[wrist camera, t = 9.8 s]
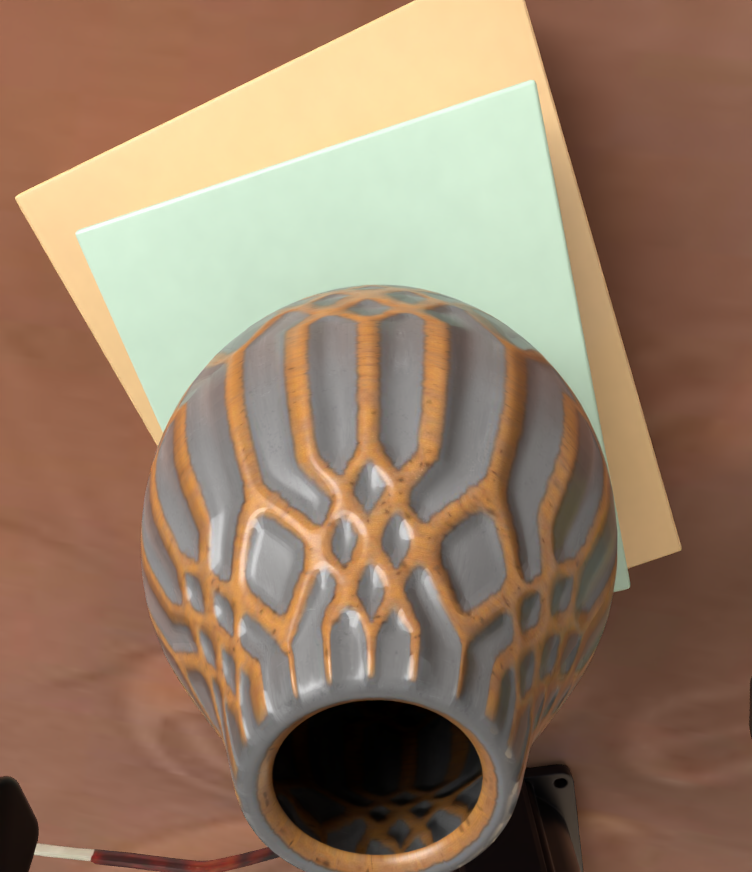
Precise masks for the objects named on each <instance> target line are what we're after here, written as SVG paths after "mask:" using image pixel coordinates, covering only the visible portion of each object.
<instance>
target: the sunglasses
mask: <svg viewBox="0 0 752 872" xmlns="http://www.w3.org/2000/svg"><path fill="white" fill-rule="evenodd" d="M34 855H38V856H46V857H55V858H65V859H74V860H84V861H91V862H93V863H95V864H99V865H109V866H118V867H128V868H136V869H145V870H153V871H161V872H223V871H228V870H232V869H236V868H240V867H244V866H248V865H252V864H256V863H259V862H263V861H267V860H270V859H274V858H278V857H279V856H278V855H277V854H276V853H274V852H273V851H272V850H271V849H270V848H269V847H267V848H263V849H259V850H255V851H251V852H248V853H244V854H239V855H235V856H230V857H225V858H221V859H216V860H210V861H193V860H184V859H175V858H167V857H159V856H151V855H144V854H136V853H127V852H117V851H107V850H96V849H84V848H73V847H65V846H57V845H48V844H39V843H37V846H36V849H35V852H34Z"/></svg>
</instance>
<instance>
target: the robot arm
mask: <svg viewBox="0 0 752 872" xmlns="http://www.w3.org/2000/svg"><path fill="white" fill-rule="evenodd" d="M749 727H750V734H751V737H752V677H751V681H750V715H749ZM559 778H560V779H559ZM38 834H39V828H38V822H37V819H36V817H35V815H34V813H33V811H32V809H31V807H30V805H29V803H28V801H27V799H26V797H25V795H24V793H23V791H22V789H21V787H20V785H19V783H18V782H17V780H15V779H14V778H12V777H9V776H3V777H0V872H28V871H29V868H30V865H31V862H32V859H33V855H34V852H35V849H36V846H37V841H38ZM451 872H583V863H582V854H581V845H580V835H579V826H578V817H577V808H576V798H575V789H574V781H573V778H572V775H571V772H570V769H569V768H568V767H566V766H564V765H550V766H543V767H535V768H528V769H525V773H524V778H523V782H522V787H521V790H520V794H519V797H518V800H517V803H516V806H515V809H514V811H513V813H512V816H511V817H510V819H509V821H508V823H507V825H506V826H505V828H504V829H503V831H502V832H501V833H500V835H499V836H498V837H497V838H496V840H495V841H494V842H493V843H492V844H491V845H490V846H489V847H488V848H487V849H486V850H484V851H483V852H482V853H481V854H480V855H478V856H477V857H476V858H474V859H473V860H471V861H470V862H468V863H467V864H465V865H463V866H461V867H460V868H458V869H456V870H454V871H451Z"/></svg>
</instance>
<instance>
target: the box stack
mask: <svg viewBox="0 0 752 872" xmlns="http://www.w3.org/2000/svg"><path fill="white" fill-rule="evenodd" d="M15 200H16V202H17V203H18V205H19V207H20V209H21V210H22V212H23V214H24V216H25V217H26V219H27V221H28V222H29V224H30V226H31V228H32V229H33V231H34V233H35V235H36V236H37V238H38V240H39V242H40V243H41V245H42V247H43V248H44V250H45V252H46V254H47V255H48V257H49V259H50V261H51V262H52V264H53V266H54V268H55V269H56V271H57V273H58V275H59V276H60V278H61V280H62V281H63V283H64V285H65V287H66V288H67V290H68V292H69V294H70V295H71V297H72V299H73V301H74V302H75V304H76V306H77V307H78V309H79V311H80V313H81V314H82V316H83V318H84V320H85V321H86V323H87V325H88V327H89V328H90V330H91V332H92V333H93V335H94V337H95V339H96V340H97V342H98V344H99V346H100V347H101V349H102V351H103V353H104V354H105V356H106V358H107V359H108V361H109V363H110V365H111V366H112V368H113V370H114V372H115V373H116V375H117V377H118V379H119V380H120V382H121V384H122V385H123V387H124V389H125V391H126V392H127V394H128V396H129V398H130V399H131V401H132V403H133V405H134V406H135V408H136V410H137V412H138V413H139V415H140V417H141V418H142V420H143V422H144V424H145V425H146V427H147V429H148V431H149V432H150V434H151V436H152V438H153V439H154V441H155V443H156V444H157V446H158V445H159V442H160V440H161V437H162V435H163V432H164V430H165V428H166V426H167V424H168V422H169V419H170V418H171V416H172V414H173V412H174V410H175V408H176V406H177V404H178V403H179V401H180V400H181V398H182V396H183V395H184V393H185V392H186V390H187V389H188V388H189V386H190V385H191V384H192V382H193V381H194V380H195V379H196V377H197V376H198V375H199V374H200V372H201V371H202V370H203V369H204V367H205V366H206V365H207V364H208V363H209V362H210V361H211V360H212V359H213V358H214V357H215V355H216V354H217V353H219V352H220V351H221V350H222V349H223V348H224V347H225V346H226V345H227V344H228V343H229V342H231V341H232V340H233V339H235V338H236V337H237V336H238V335H240V334H241V333H242V332H244V331H245V330H246V329H248V328H249V327H250V326H251V325H253V324H255V323H256V322H258V321H259V320H261V319H262V318H264V317H265V316H267V315H269V314H271V313H273V312H275V311H276V310H278V309H280V308H282V307H285V306H287V305H289V304H291V303H294V302H296V301H298V300H301V299H303V298H306V297H309V296H312V295H315V294H318V293H322V292H326V291H330V290H334V289H339V288H345V287H351V286H361V285H398V286H407V287H414V288H420V289H425V290H429V291H433V292H437V293H440V294H443V295H446V296H449V297H452V298H455V299H457V300H460V301H462V302H465V303H467V304H469V305H472V306H474V307H476V308H478V309H480V310H482V311H484V312H486V313H488V314H490V315H491V316H493V317H495V318H496V319H498V320H499V321H501V322H503V323H504V324H506V325H507V326H508V327H510V328H511V329H512V330H514V331H515V332H516V333H518V334H519V335H520V336H521V337H523V338H524V339H525V340H527V341H528V342H529V343H530V344H531V345H532V346H533V347H534V348H536V349H537V350H538V351H539V352H540V353H541V354H542V355H543V356H544V357H545V358H546V359H547V360H548V361H549V363H550V364H551V365H552V366H553V367H554V368H555V369H556V371H557V372H558V373H559V374H560V376H561V377H562V378H563V379H564V381H565V382H566V383H567V384H568V386H569V387H570V388H571V390H572V391H573V393H574V394H575V396H576V397H577V399H578V400H579V402H580V403H581V405H582V407H583V409H584V411H585V413H586V415H587V416H588V418H589V420H590V423H591V425H592V427H593V429H594V432H595V434H596V436H597V439H598V441H599V443H600V446H601V449H602V452H603V455H604V458H605V461H606V464H607V469H608V473H609V477H610V481H611V486H612V490H613V496H614V505H615V514H616V523H617V572H616V579H615V586H614V592H617V591H621V590H625V589H628V588H630V579H629V574H628V568H631V567H634V566H637V565H640V564H643V563H646V562H649V561H652V560H655V559H658V558H660V557H663V556H666V555H669V554H672V553H675V552H678V551H681V549H682V547H681V544H680V540H679V537H678V533H677V530H676V526H675V523H674V519H673V516H672V512H671V509H670V505H669V502H668V498H667V495H666V491H665V488H664V484H663V481H662V477H661V474H660V470H659V467H658V463H657V460H656V456H655V453H654V449H653V446H652V442H651V439H650V435H649V432H648V428H647V425H646V421H645V418H644V414H643V411H642V408H641V404H640V401H639V397H638V394H637V390H636V387H635V383H634V380H633V376H632V373H631V369H630V366H629V362H628V359H627V355H626V352H625V348H624V345H623V341H622V338H621V334H620V331H619V327H618V324H617V320H616V317H615V313H614V310H613V306H612V303H611V299H610V296H609V292H608V289H607V285H606V282H605V278H604V275H603V271H602V268H601V264H600V261H599V258H598V254H597V251H596V247H595V244H594V240H593V237H592V233H591V230H590V226H589V223H588V219H587V216H586V212H585V209H584V205H583V202H582V198H581V195H580V191H579V188H578V184H577V181H576V177H575V174H574V170H573V167H572V163H571V160H570V156H569V153H568V149H567V146H566V142H565V139H564V135H563V132H562V128H561V125H560V121H559V118H558V114H557V111H556V108H555V104H554V101H553V97H552V94H551V90H550V87H549V83H548V80H547V76H546V73H545V69H544V66H543V62H542V59H541V55H540V52H539V48H538V45H537V41H536V38H535V34H534V31H533V27H532V24H531V20H530V17H529V13H528V10H527V6H526V3H525V0H415V1H413V2H411V3H409V4H407V5H404V6H402V7H400V8H398V9H396V10H394V11H392V12H390V13H388V14H386V15H384V16H382V17H380V18H378V19H376V20H374V21H372V22H370V23H368V24H366V25H364V26H362V27H360V28H357V29H355V30H353V31H351V32H349V33H347V34H345V35H343V36H341V37H339V38H337V39H335V40H333V41H331V42H329V43H327V44H325V45H323V46H321V47H319V48H317V49H315V50H313V51H310V52H308V53H306V54H304V55H302V56H300V57H298V58H296V59H294V60H292V61H290V62H288V63H286V64H284V65H282V66H280V67H278V68H276V69H274V70H272V71H270V72H268V73H266V74H263V75H261V76H259V77H257V78H255V79H253V80H251V81H249V82H247V83H245V84H243V85H241V86H239V87H237V88H235V89H233V90H231V91H229V92H227V93H225V94H223V95H221V96H219V97H216V98H214V99H212V100H210V101H208V102H206V103H204V104H202V105H200V106H198V107H196V108H194V109H192V110H190V111H188V112H186V113H184V114H182V115H180V116H178V117H176V118H174V119H172V120H169V121H167V122H165V123H163V124H161V125H159V126H157V127H155V128H153V129H151V130H149V131H147V132H145V133H143V134H141V135H139V136H137V137H135V138H133V139H131V140H129V141H127V142H125V143H122V144H120V145H118V146H116V147H114V148H112V149H110V150H108V151H106V152H104V153H102V154H100V155H98V156H96V157H94V158H92V159H90V160H88V161H86V162H84V163H82V164H80V165H78V166H75V167H73V168H71V169H69V170H67V171H65V172H63V173H61V174H59V175H57V176H55V177H53V178H51V179H49V180H47V181H45V182H43V183H41V184H39V185H37V186H35V187H33V188H31V189H28V190H26V191H24V192H22V193H20V194H18V195H17V196H16V197H15Z"/></svg>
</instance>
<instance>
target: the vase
mask: <svg viewBox="0 0 752 872" xmlns="http://www.w3.org/2000/svg"><path fill="white" fill-rule="evenodd" d="M141 565H142V576H143V582H144V589H145V595H146V601H147V605H148V609H149V613H150V617H151V620H152V623H153V626H154V629H155V632H156V635H157V637H158V640H159V642H160V645H161V647H162V649H163V651H164V654H165V656H166V658H167V660H168V662H169V664H170V666H171V667H172V669H173V671H174V673H175V674H176V676H177V678H178V679H179V681H180V682H181V684H182V686H183V687H184V689H185V690H186V692H187V693H188V695H189V696H190V698H191V699H192V700H193V702H194V703H195V705H196V706H197V707H198V709H199V710H200V711H201V713H202V714H203V716H204V717H205V718H206V720H207V721H208V722H209V724H210V725H211V726H212V727H213V729H214V730H215V731H216V733H217V734H218V735H219V736H220V738H221V739H222V740H223V742H224V745H225V748H226V752H227V756H228V761H229V765H230V770H231V775H232V779H233V784H234V788H235V792H236V795H237V798H238V802H239V804H240V807H241V809H242V812H243V814H244V816H245V818H246V820H247V822H248V823H249V825H250V826H251V828H252V829H253V831H254V832H255V833H256V835H257V836H258V837H259V838H260V839H261V840H262V842H263V843H264V844H265V845H266V846H267V847H269V848H270V849H271V850H272V851H273V852H274V853H276V854H277V855H278V856H279V857H281V858H282V859H284V860H285V861H287V862H288V863H290V864H292V865H294V866H295V867H297V868H299V869H301V870H303V871H305V872H451V871H454V870H456V869H458V868H460V867H461V866H463V865H465V864H467V863H468V862H470V861H471V860H473V859H474V858H476V857H477V856H478V855H480V854H481V853H482V852H483V851H484V850H486V849H487V848H488V847H489V846H490V845H491V844H492V843H493V842H494V841H495V840H496V838H497V837H498V836H499V835H500V833H501V832H502V831H503V829H504V828H505V826H506V825H507V823H508V821H509V819H510V817H511V816H512V813H513V811H514V809H515V806H516V803H517V800H518V797H519V794H520V790H521V787H522V782H523V778H524V773H525V769H526V765H527V760H528V756H529V752H530V749H531V746H532V743H533V742H534V741H535V740H536V739H537V737H538V736H539V735H540V734H541V733H542V731H543V730H544V729H545V727H546V726H547V725H548V723H549V722H550V721H551V720H552V718H553V717H554V716H555V714H556V713H557V712H558V710H559V709H560V708H561V706H562V705H563V704H564V702H565V701H566V700H567V698H568V697H569V695H570V694H571V692H572V691H573V689H574V688H575V686H576V685H577V683H578V682H579V680H580V678H581V677H582V675H583V674H584V672H585V670H586V669H587V667H588V665H589V663H590V661H591V659H592V657H593V655H594V652H595V650H596V648H597V646H598V643H599V641H600V638H601V636H602V634H603V631H604V628H605V625H606V622H607V619H608V615H609V611H610V607H611V603H612V597H613V592H614V586H615V579H616V572H617V523H616V514H615V505H614V496H613V490H612V486H611V481H610V477H609V473H608V469H607V464H606V461H605V458H604V455H603V452H602V449H601V446H600V443H599V441H598V439H597V436H596V434H595V432H594V429H593V427H592V425H591V423H590V420H589V418H588V416H587V415H586V413H585V411H584V409H583V407H582V405H581V403H580V402H579V400H578V399H577V397H576V396H575V394H574V393H573V391H572V390H571V388H570V387H569V386H568V384H567V383H566V382H565V381H564V379H563V378H562V377H561V376H560V374H559V373H558V372H557V371H556V369H555V368H554V367H553V366H552V365H551V364H550V363H549V361H548V360H547V359H546V358H545V357H544V356H543V355H542V354H541V353H540V352H539V351H538V350H537V349H536V348H534V347H533V346H532V345H531V344H530V343H529V342H528V341H527V340H525V339H524V338H523V337H521V336H520V335H519V334H518V333H516V332H515V331H514V330H512V329H511V328H510V327H508V326H507V325H506V324H504V323H503V322H501V321H499V320H498V319H496V318H495V317H493V316H491V315H490V314H488V313H486V312H484V311H482V310H480V309H478V308H476V307H474V306H472V305H469V304H467V303H465V302H462V301H460V300H457V299H455V298H452V297H449V296H446V295H443V294H440V293H437V292H433V291H429V290H425V289H420V288H414V287H407V286H398V285H361V286H351V287H345V288H339V289H334V290H330V291H326V292H322V293H318V294H315V295H312V296H309V297H306V298H303V299H301V300H298V301H296V302H294V303H291V304H289V305H287V306H285V307H282V308H280V309H278V310H276V311H275V312H273V313H271V314H269V315H267V316H265V317H264V318H262V319H261V320H259V321H258V322H256V323H255V324H253V325H251V326H250V327H249V328H248V329H246V330H245V331H244V332H242V333H241V334H240V335H238V336H237V337H236V338H235V339H233V340H232V341H231V342H229V343H228V344H227V345H226V346H225V347H224V348H223V349H222V350H221V351H220V352H219V353H217V354H216V355H215V357H214V358H213V359H212V360H211V361H210V362H209V363H208V364H207V365H206V366H205V367H204V369H203V370H202V371H201V372H200V374H199V375H198V376H197V377H196V379H195V380H194V381H193V382H192V384H191V385H190V386H189V388H188V389H187V390H186V392H185V393H184V395H183V396H182V398H181V400H180V401H179V403H178V404H177V406H176V408H175V410H174V412H173V414H172V416H171V418H170V419H169V422H168V424H167V426H166V428H165V430H164V432H163V435H162V437H161V440H160V442H159V445H158V447H157V450H156V453H155V457H154V460H153V463H152V467H151V471H150V475H149V479H148V483H147V488H146V493H145V500H144V508H143V516H142V525H141Z"/></svg>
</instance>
